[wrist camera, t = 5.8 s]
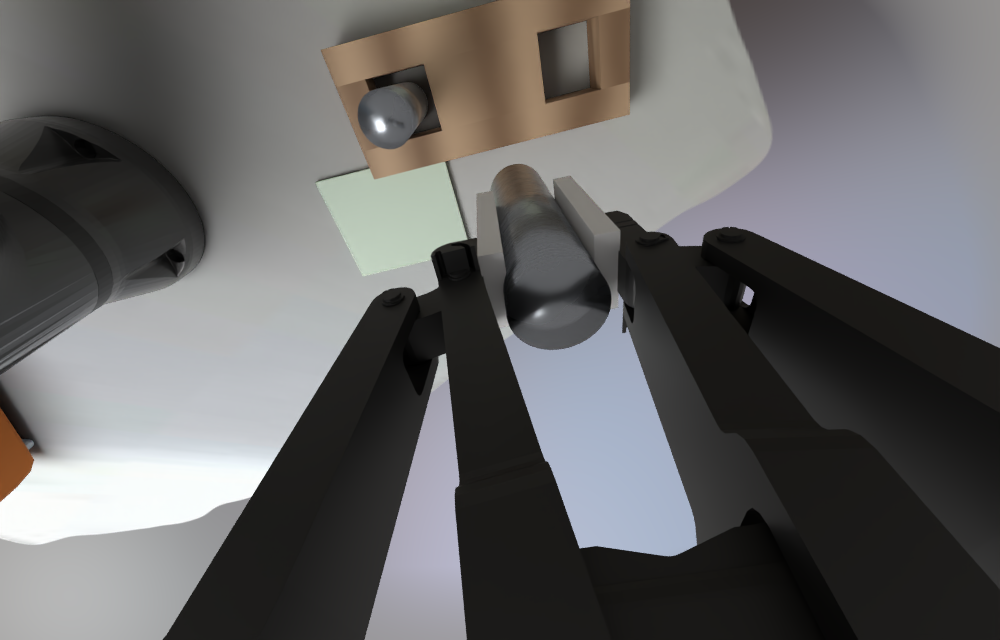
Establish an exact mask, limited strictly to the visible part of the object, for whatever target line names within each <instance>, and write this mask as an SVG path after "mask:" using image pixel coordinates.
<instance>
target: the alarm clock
mask: <svg viewBox="0 0 1000 640" xmlns="http://www.w3.org/2000/svg"><path fill="white" fill-rule="evenodd" d="M33 445H34V442H33V441H32V440H28V439H21V438H20V436H19V435H18V433H17V432H16V430H15V429H14V427H13V426H12V424H11V423H10V421H9V420H8V418H7V417H6V415H5V414H4V412H3V411H2V409H1V408H0V502H1V501H2V500H3V499H4V498H5V497H6V496H7V495H9V494H10V493H11V492H12V491H13V490H14V489H15V488H16V487H17V486H18V485H19V484H20V483H21V482H22V481H23V479H24V478H25V477H26V476H27V475H28V474H29V473H30V471H31V468H32V465H33V462H34V459H33V457H32V455H31V454H30V452H29V449H30V448H31V447H32V446H33Z"/></svg>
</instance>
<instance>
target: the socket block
mask: <svg viewBox="0 0 1000 640" xmlns="http://www.w3.org/2000/svg"><path fill="white" fill-rule="evenodd" d="M583 21H587V38H588V56H589V75H590V88H587V89H584V90H580V91H576V92H572V93H568V94H564V95H561V96H557V97H553V98H549V99H545V96H544V88H543V79H542V71H541V62H540V54H539V46H538V37H537V34H539V33H543V32H546V31H550V30H554V29H557V28H561V27H565V26H568V25H572V24H576V23H579V22H583ZM321 52H322V54H323V57H324V59H325V62H326V64H327V67H328V69H329V71H330V74H331V76H332V79H333V81H334V83H335V86H336V88H337V91H338V93H339V96H340V98H341V100H342V103H343V105H344V108H345V110H346V113H347V115H348V117H349V120H350V122H351V125H352V127H353V129H354V132H355V134H356V137H357V139H358V142H359V144H360V146H361V149H362V151H363V154H364V156H365V159H366V161H367V163H368V166H369V168H370V171H371V173H372V175H373V178H374V180H375V179H379V178H383V177H387V176H391V175H395V174H398V173H402V172H406V171H410V170H414V169H418V168H422V167H426V166H430V165H434V164H437V163H441V162H445V161H449V160H453V159H457V158H461V157H465V156H469V155H473V154H477V153H480V152H484V151H488V150H492V149H496V148H500V147H504V146H508V145H512V144H516V143H520V142H523V141H527V140H531V139H535V138H539V137H543V136H547V135H551V134H555V133H559V132H562V131H566V130H570V129H574V128H578V127H582V126H586V125H590V124H594V123H598V122H602V121H605V120H609V119H613V118H617V117H621V116H625V115H629V114H630V0H498V1H495V2H491V3H488V4H484V5H480V6H477V7H473V8H470V9H466V10H462V11H459V12H455V13H452V14H448V15H444V16H441V17H437V18H434V19H430V20H427V21H423V22H419V23H416V24H412V25H409V26H405V27H401V28H398V29H394V30H391V31H387V32H384V33H380V34H376V35H373V36H369V37H366V38H362V39H358V40H355V41H351V42H348V43H344V44H341V45H337V46H333V47H330V48H326V49H323V50H321ZM421 65H424V67H425V71H426V75H427V78H428V82H429V85H430V89H431V92H432V96H433V100H434V103H435V107H436V110H437V114H438V117H439V121H440V125H441V127H438V128H434V129H431V130H427V131H423V132H419V133H415V134H412V135H411V136H410V138H409V139H408V140H407V142H406V143H405V144H404V145H402V146H401V147H399V148H396V149H383V148H380V147H378V146H376V145H374V144H373V143H372V142H370V141H369V140H368V139H367V138H366V136H365V135H364V134H363V132H362V130H361V128H360V125H359V122H358V106H359V103H360V101H361V99H362V98H363V97H364V95H365V94H367V93H368V92H370V91H372V90H375V89H377V88H376V85H375V82H374V79H373V78H377V77H381V76H384V75H388V74H392V73H396V72H399V71H403V70H407V69H410V68H414V67H418V66H421Z"/></svg>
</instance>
